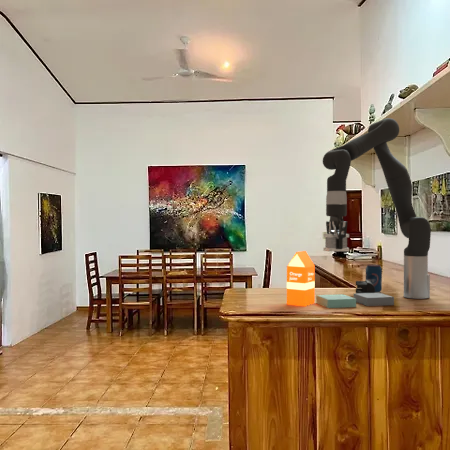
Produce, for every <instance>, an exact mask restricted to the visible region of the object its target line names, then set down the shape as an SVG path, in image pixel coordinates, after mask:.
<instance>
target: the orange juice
mask: <svg viewBox="0 0 450 450" xmlns="http://www.w3.org/2000/svg"><path fill="white" fill-rule="evenodd" d="M308 254H309V253H307V250H302V251H296V252H295V254H294V255H293V257H292V258H291V260H290V261H289V262H288V264H287V266H286V305H289V306H297V307H307V305H308V306H310V304H311V305H313V304H315V303H316V302H315V299H316V296H315V293H316V292H315V291H316V290H315V287H316V285H315V284H316V283H315V278H316V277H315V276H316V274H315V270H316V268H315V266H316V265H315V264H314V262H313V260H312V259H311V257H310V256H309V255H308Z"/></svg>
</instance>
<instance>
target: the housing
mask: <svg viewBox="0 0 450 450" xmlns="http://www.w3.org/2000/svg"><path fill="white" fill-rule="evenodd" d="M338 235H339V233H338ZM323 238H325V240H324V241H325V246H323V250H322V251H324V252H349V251H350V247H348V238H350V233H346V237H344V239H343V248H342V249H336V239H337V238H336V234H327V233H323Z"/></svg>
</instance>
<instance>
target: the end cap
mask: <svg viewBox="0 0 450 450" xmlns="http://www.w3.org/2000/svg"><path fill="white" fill-rule="evenodd" d="M355 286H356V287H355V293H375V287H374V285H373V284H372V283H371V282H370V281H369V280H366V279H365V280H356V281H355Z"/></svg>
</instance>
